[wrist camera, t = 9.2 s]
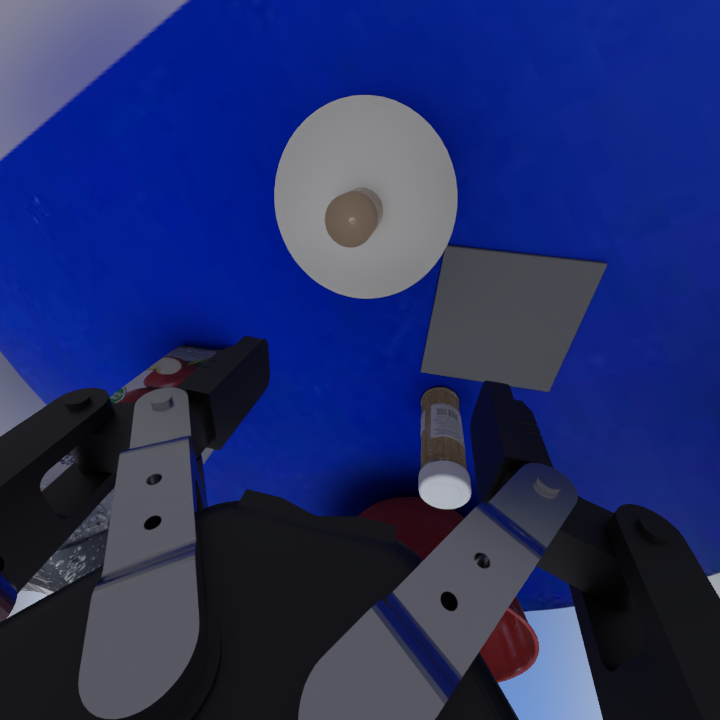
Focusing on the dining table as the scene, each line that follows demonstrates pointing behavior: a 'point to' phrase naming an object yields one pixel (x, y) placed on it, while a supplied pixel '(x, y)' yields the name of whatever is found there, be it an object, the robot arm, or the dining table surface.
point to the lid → (365, 196)
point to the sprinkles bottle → (442, 451)
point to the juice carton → (92, 534)
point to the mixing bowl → (423, 534)
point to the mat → (507, 315)
